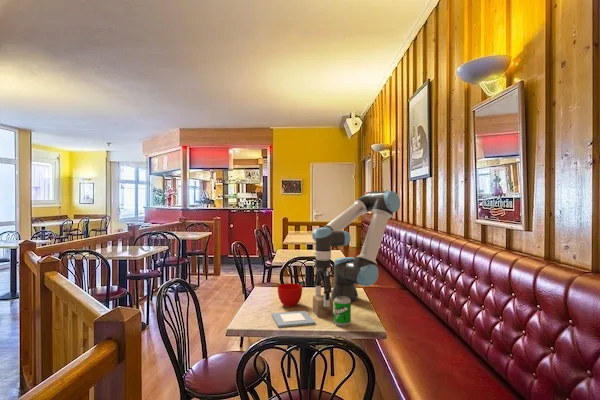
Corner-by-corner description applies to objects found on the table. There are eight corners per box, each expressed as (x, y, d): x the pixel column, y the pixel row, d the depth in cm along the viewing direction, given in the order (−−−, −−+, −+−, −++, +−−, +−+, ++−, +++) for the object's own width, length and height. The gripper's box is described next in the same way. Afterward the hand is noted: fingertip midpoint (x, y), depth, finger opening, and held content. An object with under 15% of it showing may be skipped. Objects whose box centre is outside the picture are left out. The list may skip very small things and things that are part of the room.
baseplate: (305, 312, 181) (305, 310, 181) (315, 324, 165) (315, 321, 165) (271, 315, 177) (271, 312, 177) (278, 327, 160) (278, 325, 160)
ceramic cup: (303, 299, 203) (303, 282, 203) (300, 309, 186) (301, 289, 186) (280, 299, 204) (280, 281, 204) (275, 308, 187) (275, 289, 187)
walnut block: (327, 310, 185) (328, 294, 185) (333, 315, 177) (333, 299, 177) (312, 311, 183) (312, 295, 183) (317, 317, 175) (317, 300, 175)
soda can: (339, 320, 171) (339, 294, 170) (353, 323, 166) (353, 297, 166) (330, 324, 165) (330, 297, 165) (344, 328, 160) (345, 301, 160)
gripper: (308, 255, 190) (307, 296, 191) (323, 263, 166) (322, 310, 166) (322, 255, 192) (321, 295, 192) (339, 263, 168) (338, 309, 168)
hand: (322, 302), depth 179 cm, fingers open, 13 cm apart
